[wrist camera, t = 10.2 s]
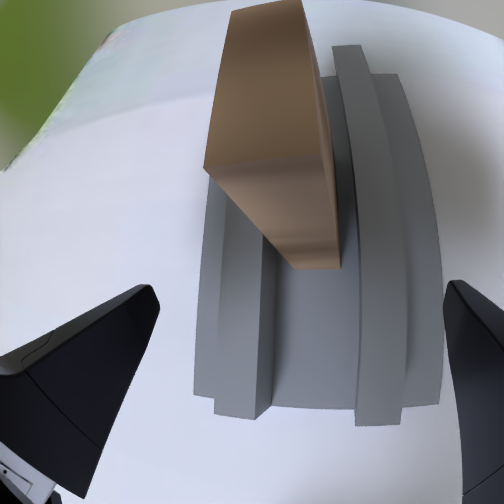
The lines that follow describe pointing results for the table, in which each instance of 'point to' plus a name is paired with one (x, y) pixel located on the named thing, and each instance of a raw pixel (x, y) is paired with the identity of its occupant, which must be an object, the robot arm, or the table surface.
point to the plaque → (276, 134)
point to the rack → (332, 278)
